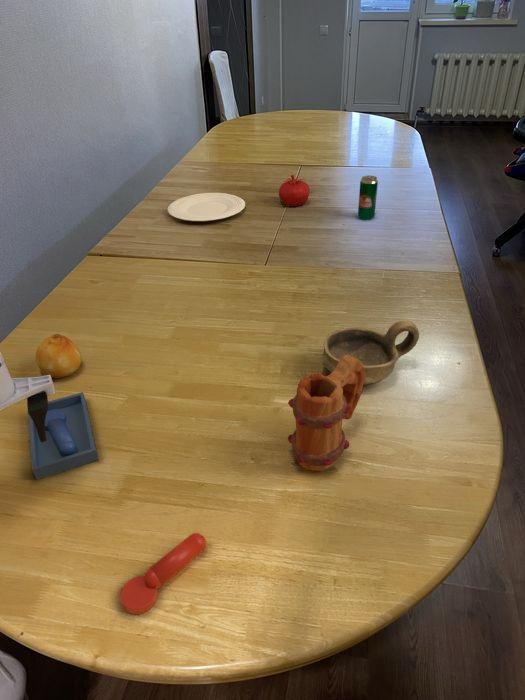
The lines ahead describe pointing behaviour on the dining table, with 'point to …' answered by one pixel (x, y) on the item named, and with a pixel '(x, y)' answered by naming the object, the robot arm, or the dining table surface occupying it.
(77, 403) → the tray
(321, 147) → the dining table surface
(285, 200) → the pomegranate
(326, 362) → the bowl
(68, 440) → the blue spoon
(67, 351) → the fruit
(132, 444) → the dining table surface
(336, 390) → the mug
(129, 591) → the red spoon
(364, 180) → the soda can
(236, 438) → the dining table surface
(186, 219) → the plate
